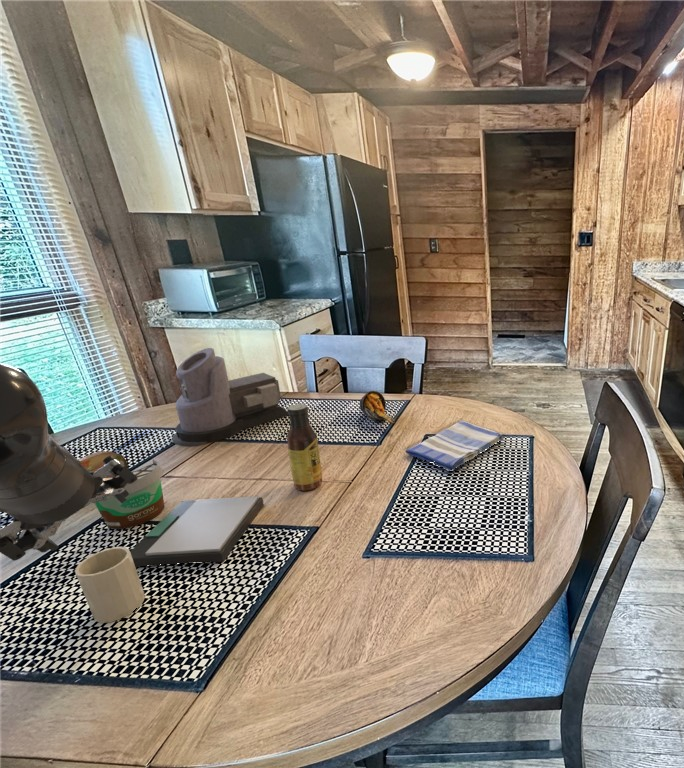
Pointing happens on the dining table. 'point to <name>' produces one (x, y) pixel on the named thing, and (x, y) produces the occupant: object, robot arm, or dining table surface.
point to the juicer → (221, 400)
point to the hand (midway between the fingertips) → (86, 520)
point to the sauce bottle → (303, 450)
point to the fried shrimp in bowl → (374, 406)
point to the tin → (99, 461)
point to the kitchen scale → (197, 531)
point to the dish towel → (455, 445)
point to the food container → (135, 500)
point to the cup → (110, 584)
